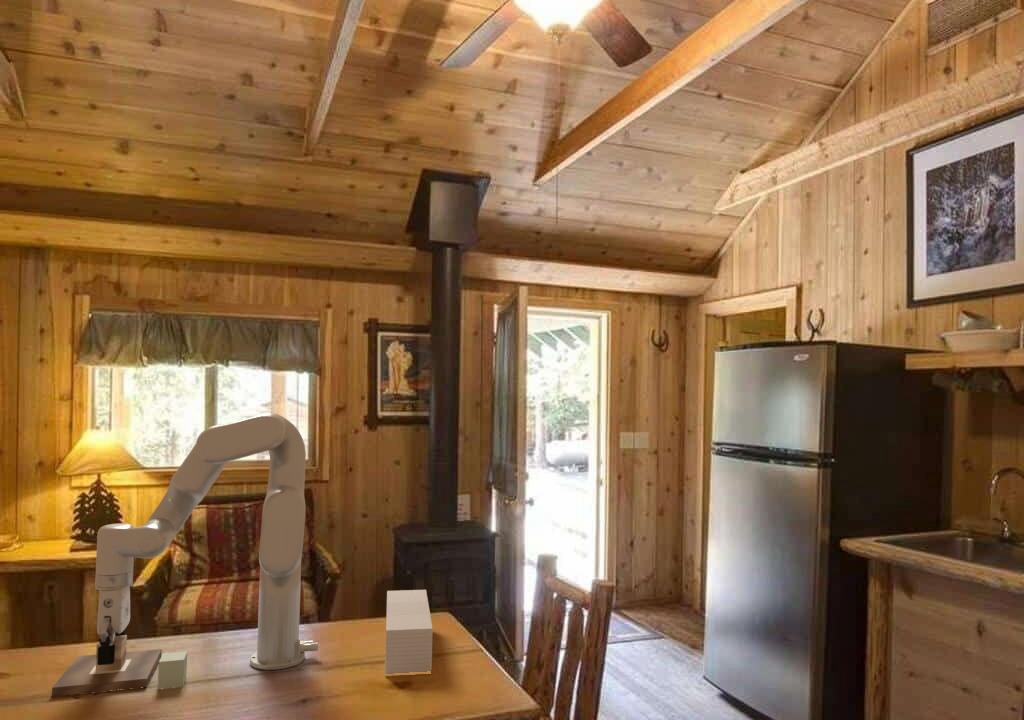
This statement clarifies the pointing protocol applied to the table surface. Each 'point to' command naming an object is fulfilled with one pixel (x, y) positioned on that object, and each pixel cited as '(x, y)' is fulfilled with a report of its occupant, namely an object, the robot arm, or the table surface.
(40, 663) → the table surface
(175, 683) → the sage block
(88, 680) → the walnut board
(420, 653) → the stack of papers
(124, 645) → the maple block
